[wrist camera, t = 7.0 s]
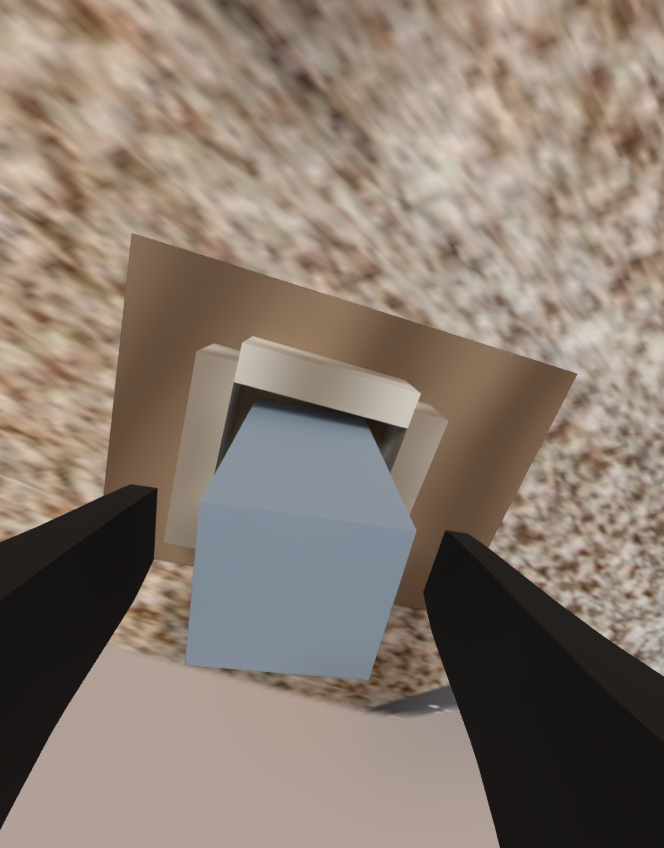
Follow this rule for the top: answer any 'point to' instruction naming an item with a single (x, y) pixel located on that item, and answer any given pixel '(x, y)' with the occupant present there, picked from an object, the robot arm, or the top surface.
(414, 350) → the well
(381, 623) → the pale blue square prism
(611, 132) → the top surface
